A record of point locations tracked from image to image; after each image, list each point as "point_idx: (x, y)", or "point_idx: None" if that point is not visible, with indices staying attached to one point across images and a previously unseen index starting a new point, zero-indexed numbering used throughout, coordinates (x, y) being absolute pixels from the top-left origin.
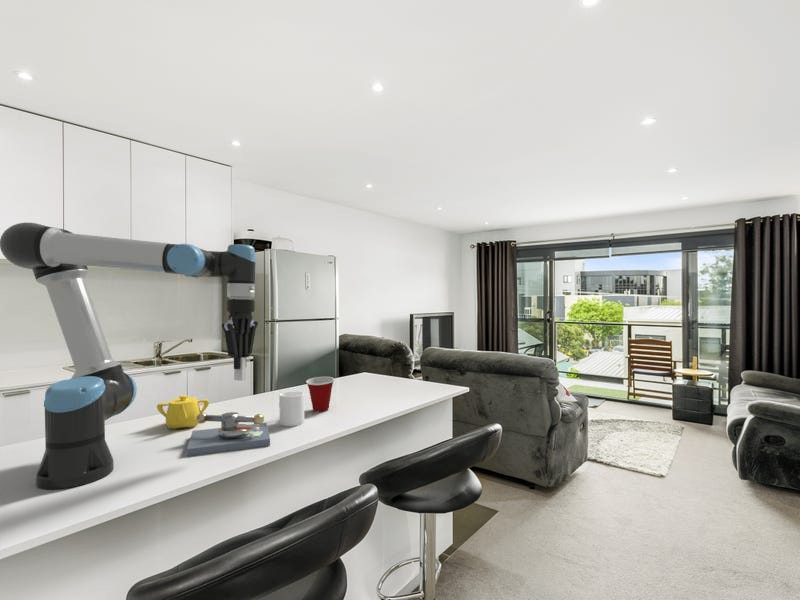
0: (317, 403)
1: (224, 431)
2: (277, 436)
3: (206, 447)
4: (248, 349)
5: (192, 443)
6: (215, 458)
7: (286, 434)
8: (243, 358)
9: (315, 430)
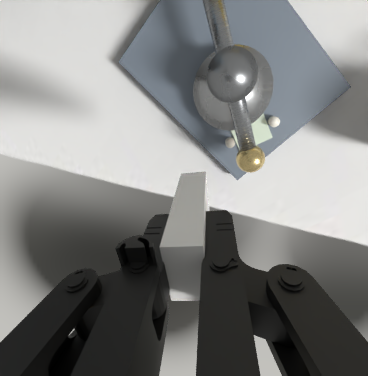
0: None
1: (202, 85)
2: (290, 153)
3: (149, 91)
4: (275, 354)
5: (146, 37)
6: (145, 128)
7: (308, 162)
8: (183, 296)
9: (347, 201)
